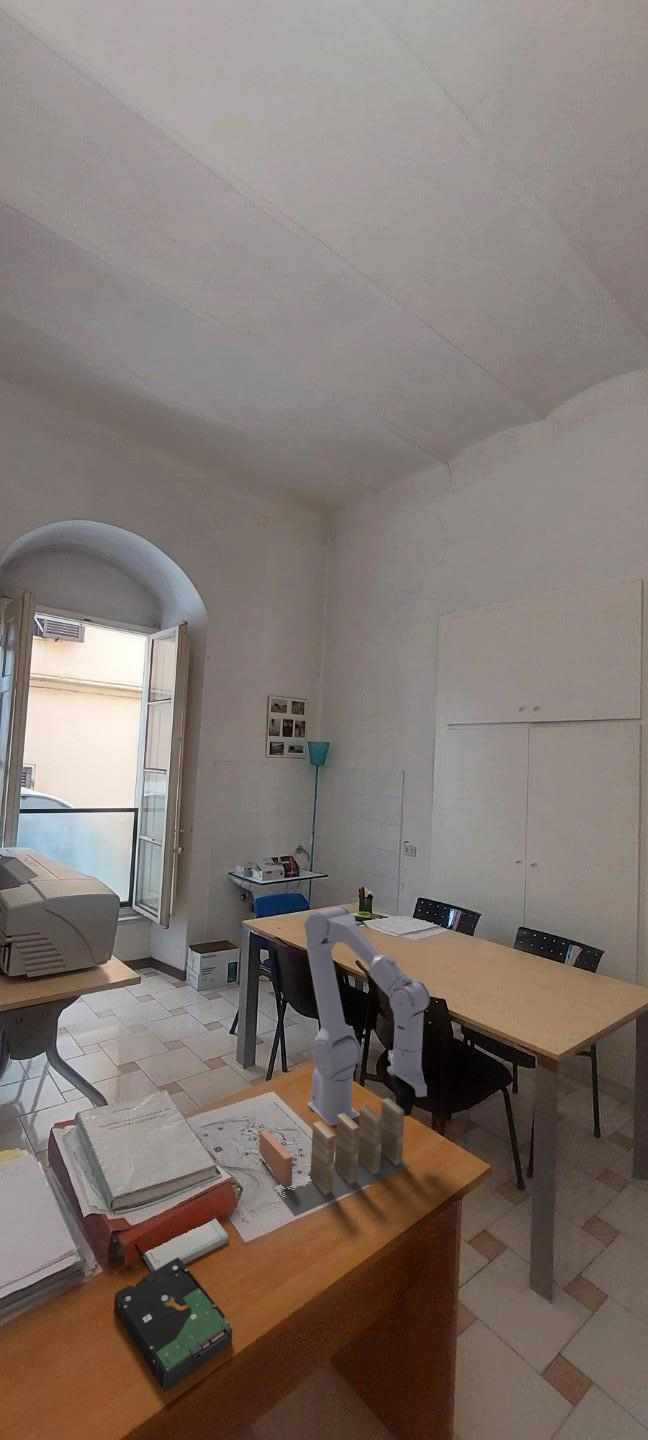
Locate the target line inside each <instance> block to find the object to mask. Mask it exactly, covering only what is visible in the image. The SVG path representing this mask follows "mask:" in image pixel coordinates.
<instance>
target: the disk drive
mask: <svg viewBox="0 0 648 1440" xmlns="http://www.w3.org/2000/svg"><path fill="white" fill-rule="evenodd" d="M114 1295H115V1296H114V1304H113V1305H114V1307H113V1311H114V1312H115V1313H116V1316H117V1318H118V1320H119V1321H120V1323H121V1324H122V1325H123V1327H124V1328H125V1330H126V1332H127V1333H128V1334H129V1336H130V1338H131V1340H132V1342H133V1343H134V1344H135V1346H136V1348H137V1349H138V1351H139V1353H140V1354H141V1355H142V1358H143V1359H144V1361H145V1363H146V1364H147V1366H148V1367H149V1369H150V1371H151V1373H152V1375H153V1377H154V1379H155V1380H156V1381H157V1382H158V1384H159V1386H160V1388H161V1389H162V1391H163V1392H166V1391H168V1390H169V1389H170V1388H172V1387H173V1386H174V1385H176V1384H177V1383H179V1382H180V1381H181V1380H183V1379H184V1378H186V1377H187V1376H188V1375H190V1374H191V1373H193V1372H194V1371H195V1370H196V1369H197V1368H199V1367H200V1366H202V1365H203V1364H205V1363H206V1362H208V1361H209V1360H211V1358H213V1357H214V1356H215V1355H217V1354H218V1353H220V1352H221V1351H223V1350H224V1349H225V1348H226V1347H228V1346H229V1345H231V1344H232V1342H233V1341H232V1339H233V1329H232V1327H230V1321H229V1320H228V1319H226V1315H225V1314H224V1312H223V1311H222V1309H220V1308H219V1306H218V1305H217V1304H216V1303H215V1301H214V1300H213V1299H212V1297H211V1296H210V1295H209V1294H208V1292H207V1291H206V1290H205V1289H204V1287H203V1286H202V1285H201V1284H200V1282H199V1281H198V1279H196V1277H195V1276H194V1275H193V1273H192V1272H191V1271H190V1269H188V1267H187V1266H186V1264H184V1263H183V1262H182V1261H181V1260H180V1259H179V1258H176V1259H174V1260H172V1261H171V1262H169V1263H167V1264H166V1265H164V1266H162V1267H160V1268H158V1269H157V1270H155V1271H153V1272H151V1271H150V1273H148V1274H146V1275H144V1276H143V1277H142V1278H141V1279H140V1281H139V1282H138V1283H137V1284H136V1285H135V1286H134V1285H131V1284H129V1285H127V1286H125V1287H124V1288H122V1289H120V1290H118V1291H117V1292H115V1294H114Z"/></svg>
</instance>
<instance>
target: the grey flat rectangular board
mask: <svg viewBox="0 0 648 1440" xmlns="http://www.w3.org/2000/svg"><path fill="white" fill-rule="evenodd" d="M410 1167H411V1166H410V1165H409V1164H407V1163H406V1162H405V1160H403V1159H402V1163H401V1164H399V1165H396V1166H395V1165H394V1164H393V1163H392V1162H391V1161H390V1160H389V1159H388V1158H387V1157H385V1156H384V1155H383V1154H382V1153H381V1160H380V1173H377V1174H375V1175H373V1174H372V1173H371V1172H370V1171H369V1170H367V1169H366V1168H365V1167H364V1166H363V1165H362V1164H361V1163H360V1162H359V1161H358V1166H357V1182H356V1183H354V1184H351V1185H349V1184H348V1183H347V1182H346V1181H345V1180H344V1179H343V1177H342V1176H341V1175H340V1174H339V1173H338V1172H337V1171H336V1170H335V1169H333V1188H332V1193H330V1194H327V1195H324V1194H323V1193H322V1192H321V1190H320V1189H319V1188H318V1187H317V1186H316V1185H315V1184H314V1182H313V1181H312V1182H310V1183H312V1184H310V1185H309V1184H306V1186H303V1185H302V1186H297V1187H298V1188H297V1187H296V1188H292V1187H289V1188H292V1189H295V1190H292V1189H288V1188H286V1189H283V1190H284V1191H283V1190H281V1191H282V1192H281V1193H282V1194H281V1195H283V1194H285V1195H283V1196H286V1197H283V1196H281V1195H280V1193H279V1192H277V1193H278V1194H277V1193H276V1194H277V1196H280V1197H279V1198H280V1199H281V1200H282V1202H283V1203H284V1204H285V1206H286V1207H287V1208H288V1209H289V1211H290V1213H292V1215H293V1216H294V1217H295V1216H296V1217H297V1216H298V1215H301V1214H303V1213H306V1212H307V1211H310V1210H312V1209H314V1208H317V1207H319V1206H322V1205H324V1204H326V1203H329V1202H331V1201H333V1200H336V1199H338V1198H340V1197H342V1196H346V1195H347V1194H349V1193H352V1192H354V1191H356V1190H359V1189H361V1188H363V1187H366V1186H368V1185H370V1184H373V1183H375V1182H378V1181H379V1180H382V1179H384V1178H387V1177H389V1176H392V1175H394V1174H396V1173H399V1172H401V1171H403V1170H406V1169H407V1168H410ZM334 1168H335V1162H334ZM307 1173H308V1176H310V1171H309V1172H307ZM281 1189H282V1188H281ZM273 1190H274V1191H275V1192H276V1191H277V1190H275V1189H273ZM283 1192H285V1193H283ZM281 1197H282V1198H281ZM283 1198H284V1199H283ZM283 1200H284V1201H283Z"/></svg>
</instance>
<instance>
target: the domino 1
mask: <svg viewBox="0 0 648 1440" xmlns="http://www.w3.org/2000/svg"><path fill="white" fill-rule="evenodd" d="M258 1147H259V1149H258V1153H259V1152H260V1153H261V1155H262V1157H263V1159H264V1160H265V1161H266V1163H267V1164H268V1166H269V1167H270V1168H271V1171H272V1172H273V1174H274V1175H275V1176H276V1178H277V1179H278V1180H279V1182H280V1183H281V1185H282V1186H283V1187H284V1188H287V1187H289V1186H291V1185H292V1179H293V1161H294V1157H293V1155H292V1154H291V1153H290V1152H289V1151H288V1150H287V1149H286V1148H285V1147H284V1145H283V1144H281V1142H280V1141H279V1140H278V1139H277V1138H276V1137H275V1136H274V1135H273V1134H272V1132H270V1131H269V1130H268V1129H264V1130H261V1131H259V1145H258ZM273 1174H272V1175H273ZM274 1175H273V1176H274ZM276 1178H275V1179H276ZM277 1179H276V1180H277ZM279 1182H278V1183H279ZM280 1183H279V1184H280Z"/></svg>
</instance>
